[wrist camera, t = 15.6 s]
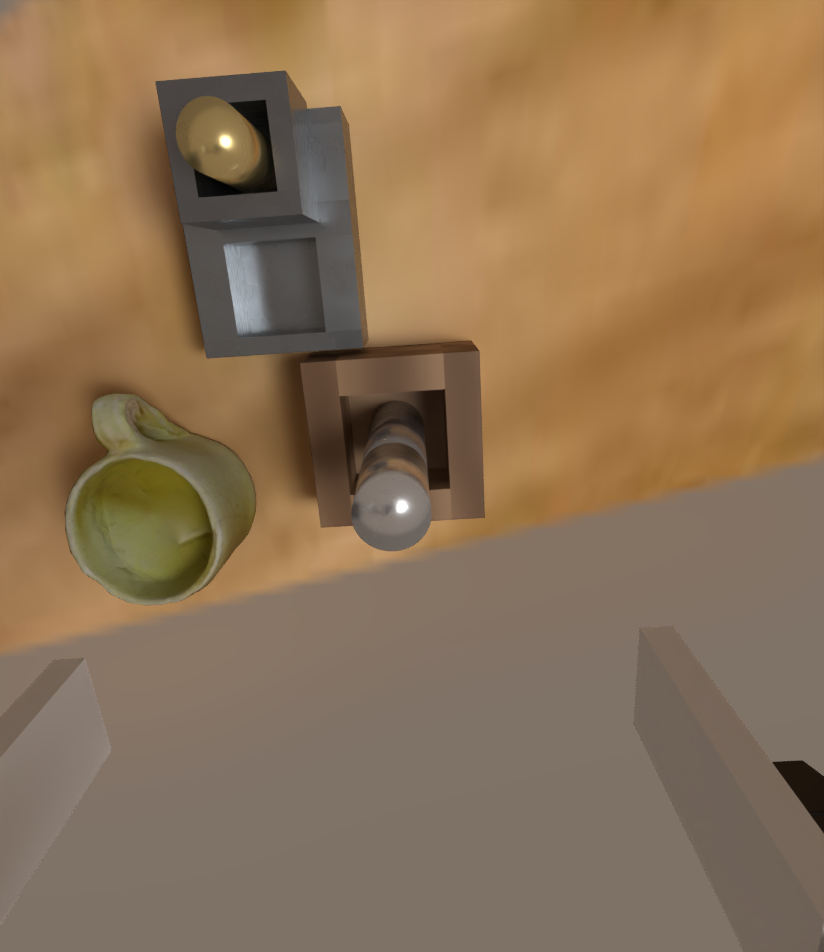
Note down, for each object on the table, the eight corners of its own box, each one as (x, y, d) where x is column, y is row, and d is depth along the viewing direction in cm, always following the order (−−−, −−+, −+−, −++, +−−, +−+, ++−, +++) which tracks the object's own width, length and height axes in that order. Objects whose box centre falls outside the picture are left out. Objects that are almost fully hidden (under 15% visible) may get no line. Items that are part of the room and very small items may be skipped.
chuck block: (227, 349, 38) (173, 372, 30) (191, 131, 34) (116, 84, 26) (368, 339, 38) (354, 359, 29) (348, 118, 34) (325, 67, 25)
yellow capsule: (233, 198, 31) (183, 178, 24) (223, 137, 30) (169, 99, 23) (287, 193, 31) (251, 173, 24) (279, 132, 30) (240, 93, 23)
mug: (289, 574, 41) (193, 627, 32) (168, 559, 44) (47, 604, 35) (286, 394, 39) (183, 394, 30) (159, 393, 43) (31, 392, 33)
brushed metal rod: (373, 453, 39) (355, 553, 26) (368, 402, 38) (347, 481, 25) (425, 449, 39) (433, 548, 26) (421, 398, 38) (428, 475, 25)
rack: (331, 498, 41) (321, 527, 37) (314, 351, 38) (299, 363, 33) (476, 489, 41) (484, 517, 36) (471, 340, 38) (479, 350, 33)
